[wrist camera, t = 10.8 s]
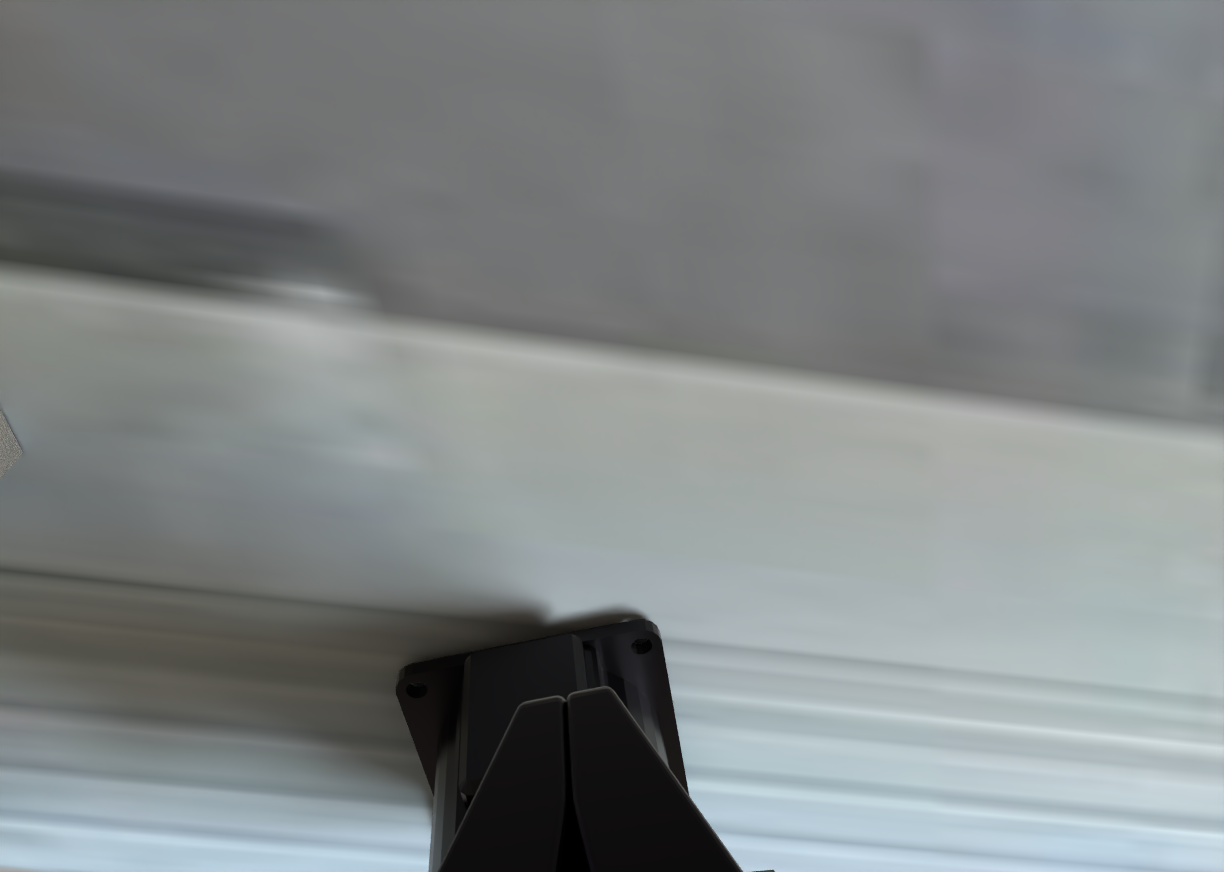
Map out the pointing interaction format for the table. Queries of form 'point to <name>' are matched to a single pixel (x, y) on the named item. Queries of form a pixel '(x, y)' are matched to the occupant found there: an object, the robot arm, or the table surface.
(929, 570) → the table surface
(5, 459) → the cream railed tray
